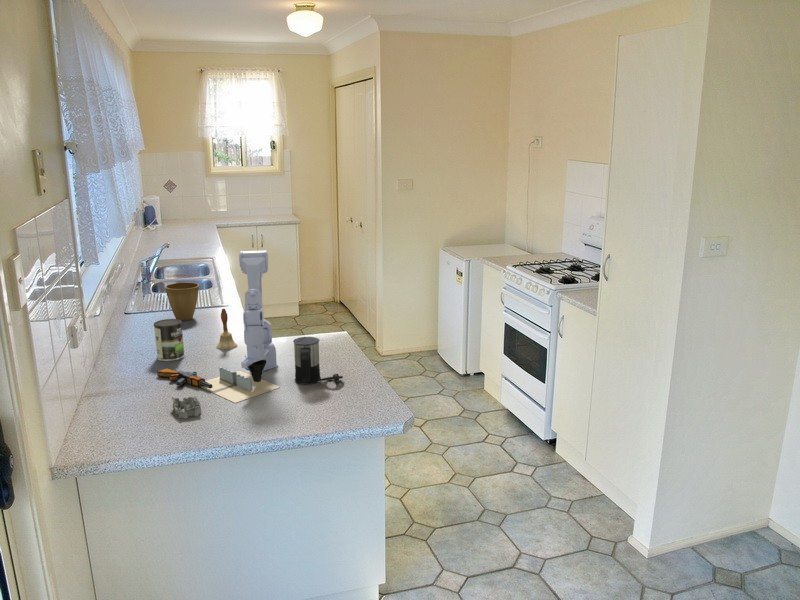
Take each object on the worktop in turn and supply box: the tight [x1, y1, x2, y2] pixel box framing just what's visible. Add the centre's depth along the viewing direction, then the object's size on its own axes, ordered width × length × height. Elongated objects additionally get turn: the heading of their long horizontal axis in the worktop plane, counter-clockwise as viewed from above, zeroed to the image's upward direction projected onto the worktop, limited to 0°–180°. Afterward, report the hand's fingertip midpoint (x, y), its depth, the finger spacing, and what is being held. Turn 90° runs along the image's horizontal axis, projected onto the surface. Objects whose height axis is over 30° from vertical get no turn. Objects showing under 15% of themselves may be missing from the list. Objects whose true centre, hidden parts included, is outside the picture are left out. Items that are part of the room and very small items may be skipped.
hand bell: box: [215, 308, 238, 351], centre depth 267 cm, size 8×8×16 cm
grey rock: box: [171, 395, 202, 419], centre depth 206 cm, size 11×8×4 cm
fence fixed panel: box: [218, 366, 234, 384], centre depth 230 cm, size 8×1×4 cm, turn 48°
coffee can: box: [153, 318, 185, 362], centre depth 255 cm, size 10×10×14 cm
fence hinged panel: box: [233, 371, 253, 391], centre depth 224 cm, size 10×1×4 cm, turn 48°
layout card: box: [200, 370, 280, 404], centre depth 227 cm, size 18×24×1 cm
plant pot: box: [164, 281, 200, 322], centre depth 307 cm, size 15×15×16 cm
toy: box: [156, 367, 213, 388], centre depth 230 cm, size 2×26×10 cm
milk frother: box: [292, 336, 344, 385], centre depth 230 cm, size 14×16×15 cm
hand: (257, 381), depth 226 cm, fingers closed
